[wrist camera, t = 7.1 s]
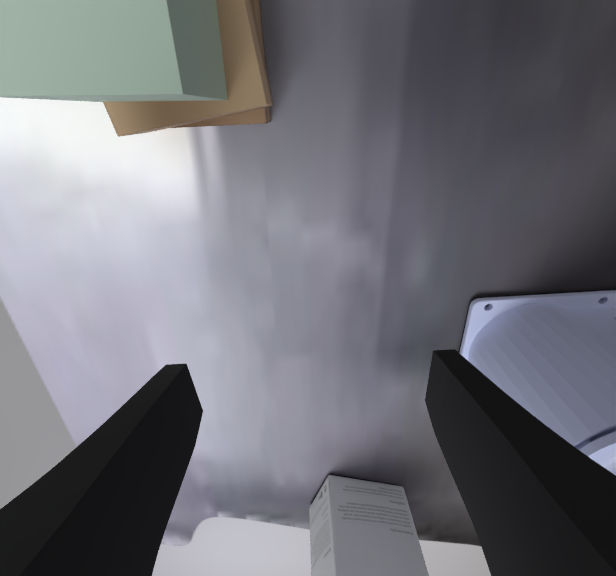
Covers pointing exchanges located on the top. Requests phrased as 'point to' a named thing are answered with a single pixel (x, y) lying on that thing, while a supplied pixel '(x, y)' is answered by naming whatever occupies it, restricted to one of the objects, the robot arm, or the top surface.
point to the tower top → (238, 73)
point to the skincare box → (363, 530)
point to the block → (111, 50)
